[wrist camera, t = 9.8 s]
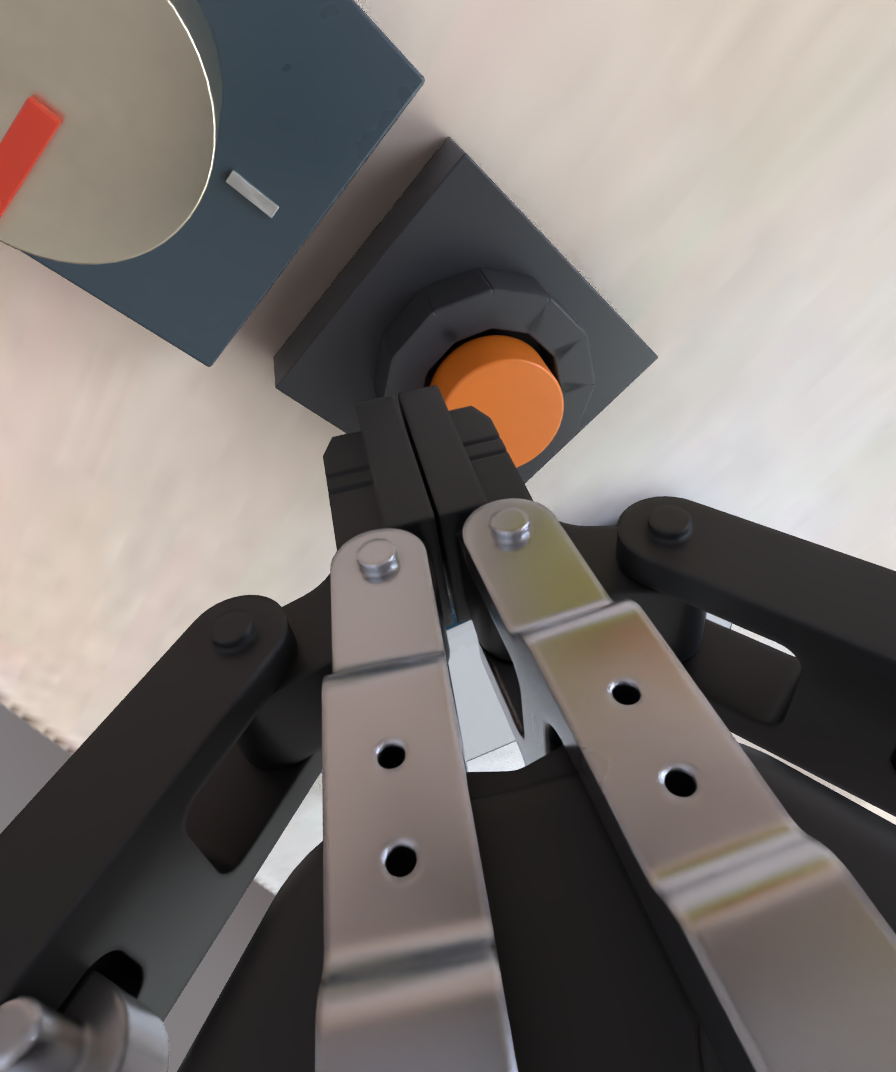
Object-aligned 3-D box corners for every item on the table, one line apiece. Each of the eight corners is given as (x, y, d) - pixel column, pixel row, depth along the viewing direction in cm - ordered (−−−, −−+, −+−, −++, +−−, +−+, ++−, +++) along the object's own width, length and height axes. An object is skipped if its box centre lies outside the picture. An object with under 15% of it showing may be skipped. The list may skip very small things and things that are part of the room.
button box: (272, 357, 24) (276, 416, 21) (448, 135, 21) (481, 168, 18) (471, 489, 30) (496, 551, 27) (633, 331, 26) (682, 381, 24)
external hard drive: (355, 778, 42) (359, 808, 41) (249, 680, 34) (250, 713, 33) (722, 621, 40) (740, 647, 38) (697, 479, 32) (719, 505, 31)
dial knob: (32, -181, 13) (-56, -230, 9) (270, 65, 17) (278, 105, 13) (-99, 65, 15) (-217, 110, 11) (139, 243, 19) (111, 326, 15)
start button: (401, 403, 22) (411, 432, 21) (488, 308, 21) (505, 332, 19) (486, 463, 24) (500, 493, 23) (570, 381, 23) (589, 407, 22)
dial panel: (-251, 34, 16) (-318, 47, 14) (-77, -464, 13) (-137, -538, 11) (212, 335, 23) (209, 371, 21) (409, 66, 19) (428, 81, 18)
